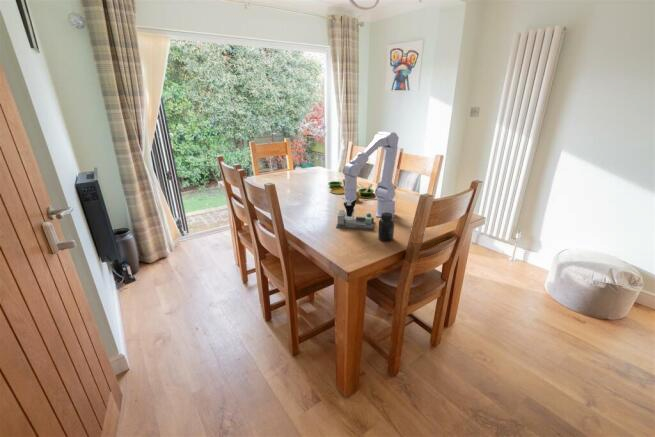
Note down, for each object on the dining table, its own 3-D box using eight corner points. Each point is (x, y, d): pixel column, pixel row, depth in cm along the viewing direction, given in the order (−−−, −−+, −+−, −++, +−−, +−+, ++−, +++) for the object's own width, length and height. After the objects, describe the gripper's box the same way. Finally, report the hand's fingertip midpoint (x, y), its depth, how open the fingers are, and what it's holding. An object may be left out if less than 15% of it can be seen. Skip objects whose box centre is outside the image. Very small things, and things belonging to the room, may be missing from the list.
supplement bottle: (391, 235, 137) (393, 211, 133) (394, 241, 131) (397, 216, 126) (376, 235, 137) (378, 211, 133) (379, 242, 131) (381, 217, 126)
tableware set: (381, 201, 185) (381, 191, 183) (338, 204, 180) (338, 194, 178) (361, 184, 222) (361, 175, 220) (325, 186, 217) (325, 177, 215)
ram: (371, 221, 151) (372, 211, 149) (371, 226, 144) (371, 216, 142) (365, 220, 151) (366, 211, 149) (364, 226, 145) (365, 216, 143)
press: (373, 221, 153) (374, 211, 151) (372, 230, 143) (373, 219, 141) (339, 219, 156) (339, 209, 154) (336, 227, 146) (336, 216, 144)
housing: (354, 216, 150) (354, 207, 148) (353, 219, 146) (353, 210, 144) (345, 216, 151) (345, 206, 149) (344, 219, 147) (344, 209, 145)
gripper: (344, 184, 150) (343, 209, 155) (340, 192, 137) (340, 219, 142) (358, 184, 149) (357, 209, 154) (355, 193, 136) (354, 220, 141)
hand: (350, 214), depth 148 cm, fingers closed on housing, 4 cm apart
